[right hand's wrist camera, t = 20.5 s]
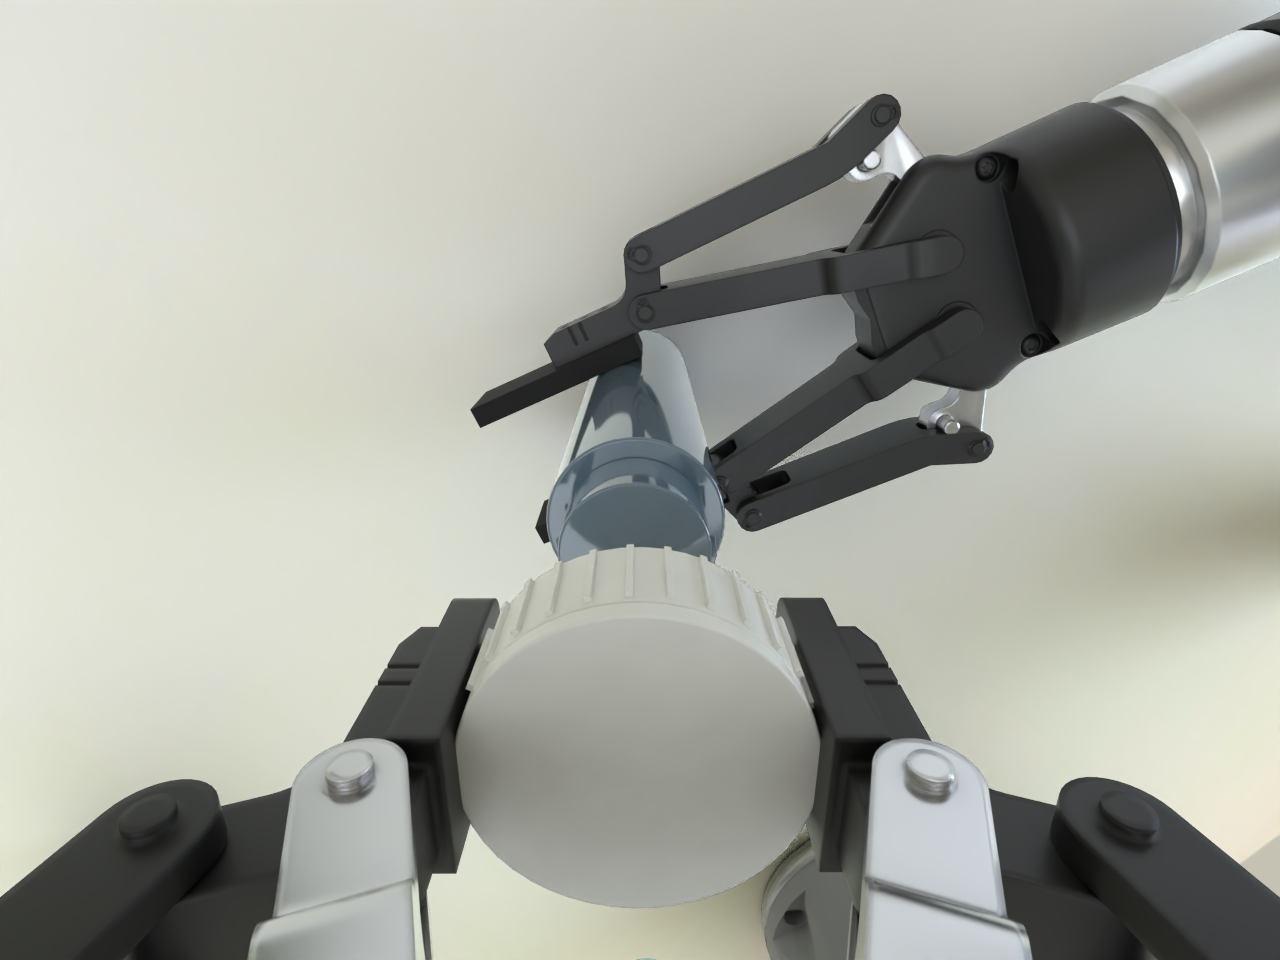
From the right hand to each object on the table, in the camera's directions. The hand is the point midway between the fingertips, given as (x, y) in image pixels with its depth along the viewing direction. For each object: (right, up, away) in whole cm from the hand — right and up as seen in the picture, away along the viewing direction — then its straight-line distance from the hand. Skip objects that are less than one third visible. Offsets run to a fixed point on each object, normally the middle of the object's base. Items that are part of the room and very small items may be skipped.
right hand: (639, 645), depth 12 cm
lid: (0, -1, -3) cm, 3 cm away
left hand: (-5, +3, +15) cm, 16 cm away
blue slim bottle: (0, +8, +21) cm, 22 cm away
